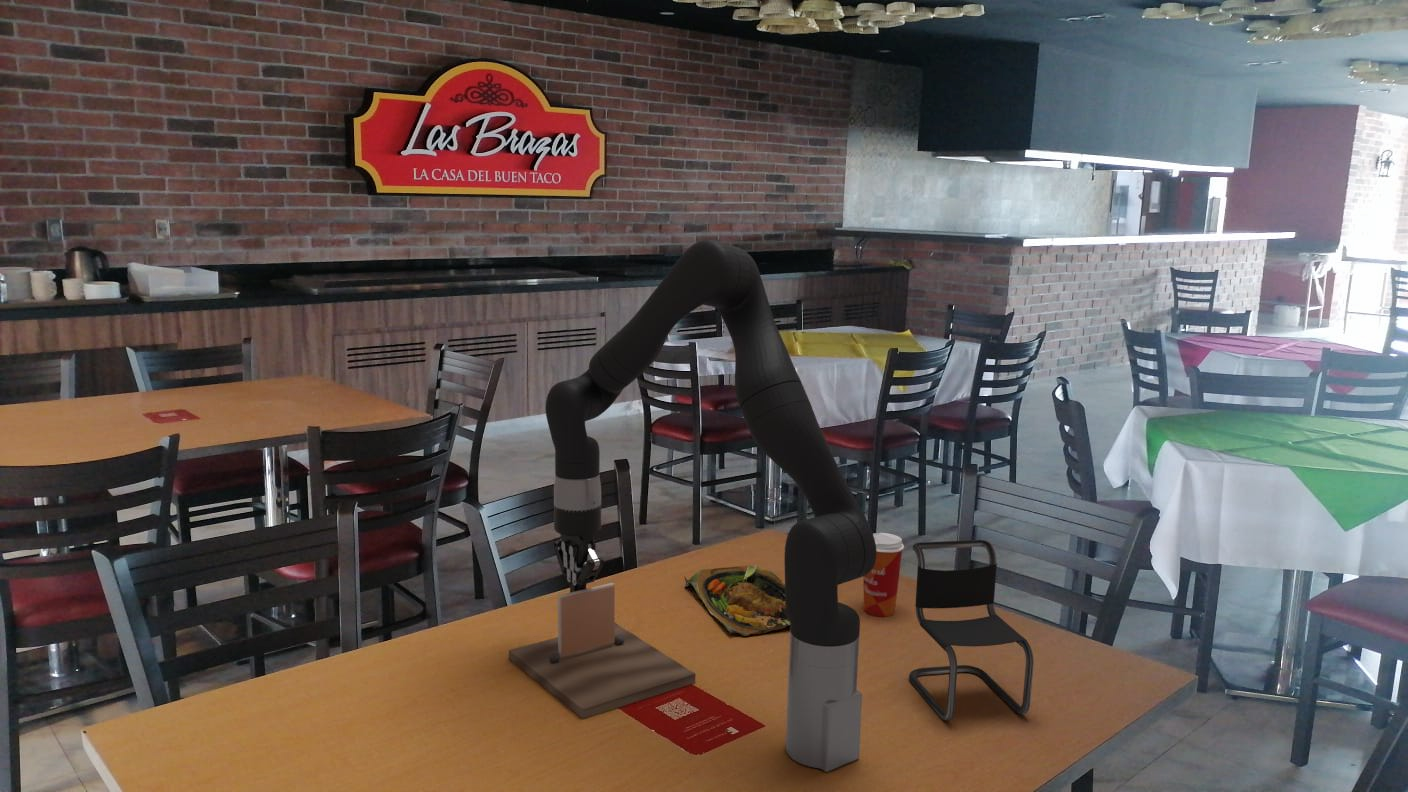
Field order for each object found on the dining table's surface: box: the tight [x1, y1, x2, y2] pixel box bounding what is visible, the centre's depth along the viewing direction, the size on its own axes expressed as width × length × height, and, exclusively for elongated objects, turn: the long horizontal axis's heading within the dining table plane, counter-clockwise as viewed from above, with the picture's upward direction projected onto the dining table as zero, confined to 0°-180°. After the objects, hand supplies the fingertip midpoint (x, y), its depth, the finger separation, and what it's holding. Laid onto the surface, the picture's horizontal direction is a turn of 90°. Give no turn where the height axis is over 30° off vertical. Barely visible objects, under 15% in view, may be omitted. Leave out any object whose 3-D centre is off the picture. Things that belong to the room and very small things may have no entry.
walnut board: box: [508, 622, 697, 720], centre depth 160 cm, size 24×20×3 cm
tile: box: [557, 582, 616, 657], centre depth 163 cm, size 10×10×1 cm
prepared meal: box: [684, 564, 790, 637], centre depth 189 cm, size 28×4×18 cm
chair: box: [908, 539, 1034, 722], centre depth 152 cm, size 13×17×22 cm
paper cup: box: [862, 532, 905, 618], centre depth 186 cm, size 8×8×14 cm
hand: (578, 604), depth 165 cm, fingers closed
